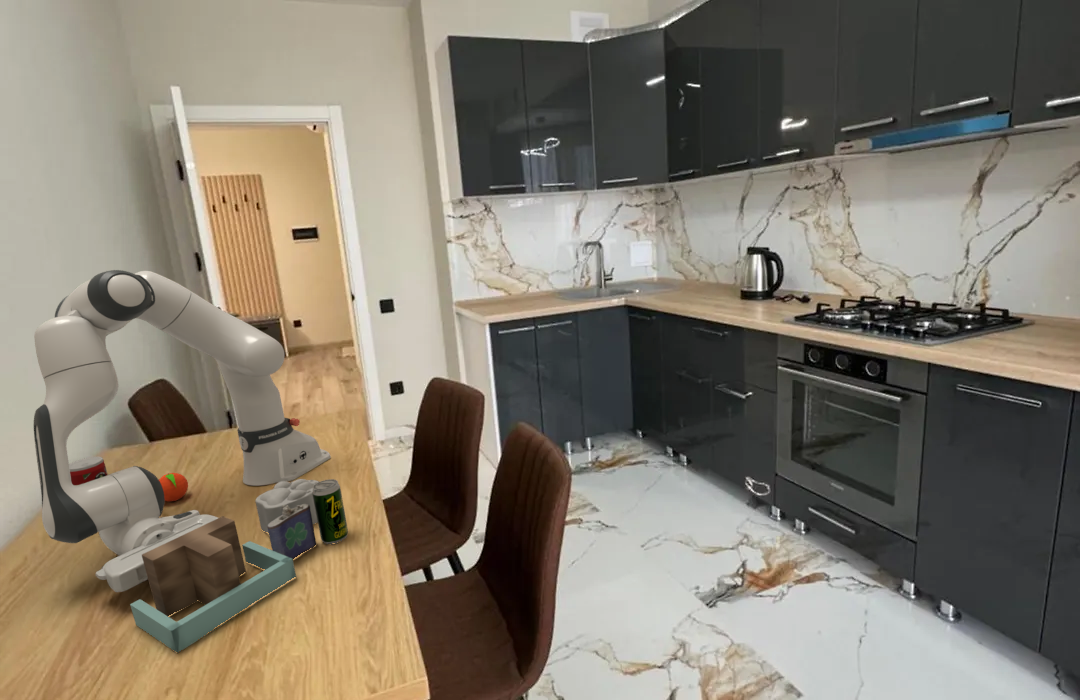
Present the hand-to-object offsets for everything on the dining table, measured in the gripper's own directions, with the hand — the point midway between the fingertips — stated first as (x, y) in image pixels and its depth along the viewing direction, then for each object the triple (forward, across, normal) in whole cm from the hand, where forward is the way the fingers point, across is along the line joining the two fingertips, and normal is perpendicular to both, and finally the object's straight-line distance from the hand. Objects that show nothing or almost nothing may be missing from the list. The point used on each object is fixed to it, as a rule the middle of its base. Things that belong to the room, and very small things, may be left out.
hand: (189, 562), depth 105 cm
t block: (+6, 0, +5) cm, 8 cm away
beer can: (+10, +23, +6) cm, 26 cm away
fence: (+8, 0, +6) cm, 9 cm away
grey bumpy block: (-5, +24, +6) cm, 25 cm away
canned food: (-64, +7, +6) cm, 65 cm away
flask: (+8, +16, +6) cm, 18 cm away
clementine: (-44, +17, +6) cm, 48 cm away
